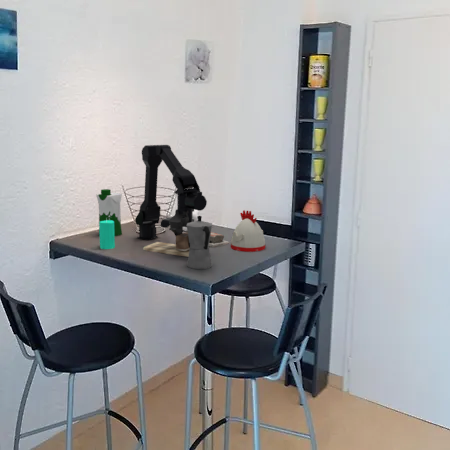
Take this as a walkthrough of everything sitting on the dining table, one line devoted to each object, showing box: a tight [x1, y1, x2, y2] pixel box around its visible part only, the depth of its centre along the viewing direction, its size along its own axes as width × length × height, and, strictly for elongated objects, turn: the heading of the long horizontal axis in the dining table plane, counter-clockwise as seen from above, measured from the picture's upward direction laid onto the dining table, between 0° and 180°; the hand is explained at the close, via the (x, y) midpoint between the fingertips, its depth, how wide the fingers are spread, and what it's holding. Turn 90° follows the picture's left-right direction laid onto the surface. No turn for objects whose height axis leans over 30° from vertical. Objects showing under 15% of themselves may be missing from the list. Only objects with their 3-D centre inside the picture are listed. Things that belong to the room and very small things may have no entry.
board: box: [143, 241, 190, 257], centre depth 217 cm, size 20×10×1 cm, turn 64°
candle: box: [98, 218, 116, 250], centre depth 219 cm, size 6×6×12 cm
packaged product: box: [185, 231, 230, 248], centre depth 232 cm, size 18×5×10 cm
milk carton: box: [96, 188, 123, 237], centre depth 240 cm, size 9×9×20 cm
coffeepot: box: [186, 215, 213, 270], centre depth 195 cm, size 15×9×18 cm, turn 22°
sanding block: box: [175, 232, 190, 251], centre depth 214 cm, size 4×7×6 cm, turn 154°
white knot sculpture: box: [183, 209, 200, 232], centre depth 254 cm, size 11×12×9 cm
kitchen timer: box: [230, 209, 266, 253], centre depth 222 cm, size 14×14×15 cm
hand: (185, 246), depth 214 cm, fingers closed on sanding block, 4 cm apart
